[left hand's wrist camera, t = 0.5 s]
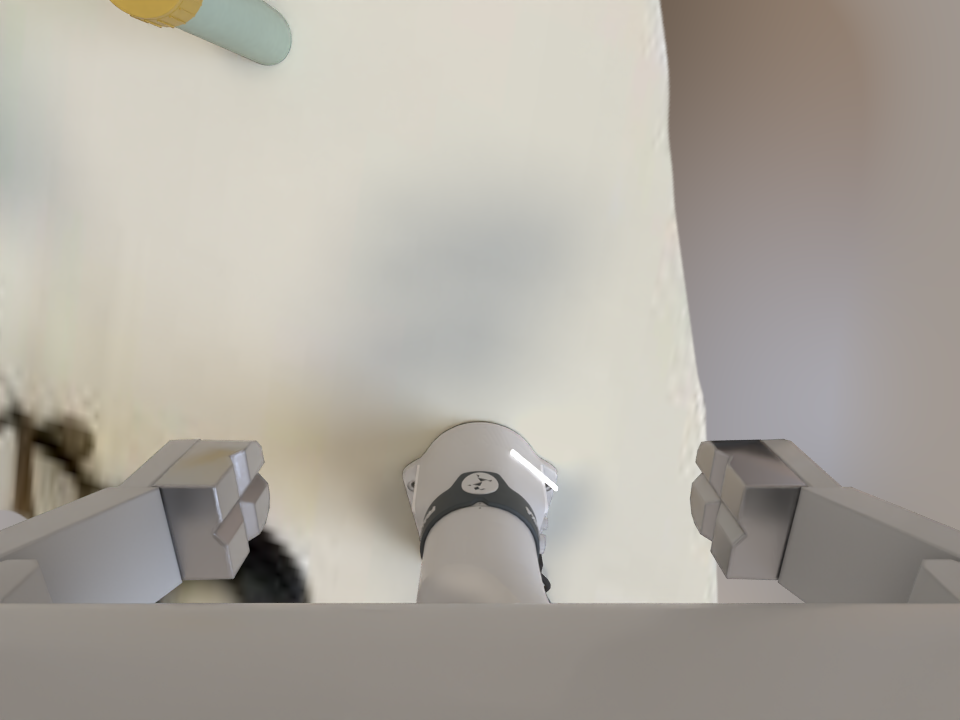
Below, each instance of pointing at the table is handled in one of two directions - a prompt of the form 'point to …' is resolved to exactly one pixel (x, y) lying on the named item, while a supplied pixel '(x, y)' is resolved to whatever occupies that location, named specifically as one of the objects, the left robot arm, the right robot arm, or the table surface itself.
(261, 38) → the pale green cylinder
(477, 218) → the table surface
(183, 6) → the lid
